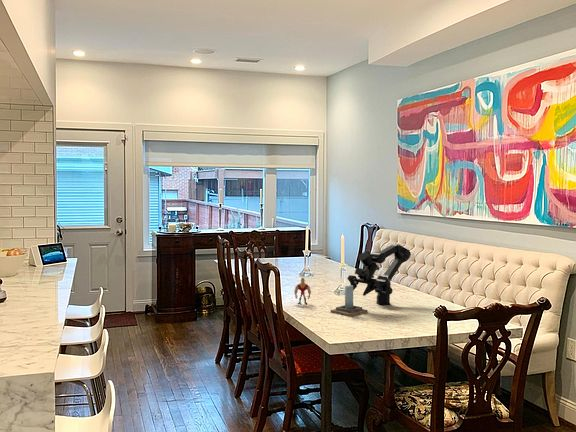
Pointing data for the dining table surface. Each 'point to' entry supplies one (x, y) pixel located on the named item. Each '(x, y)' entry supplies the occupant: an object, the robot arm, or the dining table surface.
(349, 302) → the pale blue cylinder
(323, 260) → the dining table surface
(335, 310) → the cradle board
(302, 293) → the action figure
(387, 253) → the robot arm
